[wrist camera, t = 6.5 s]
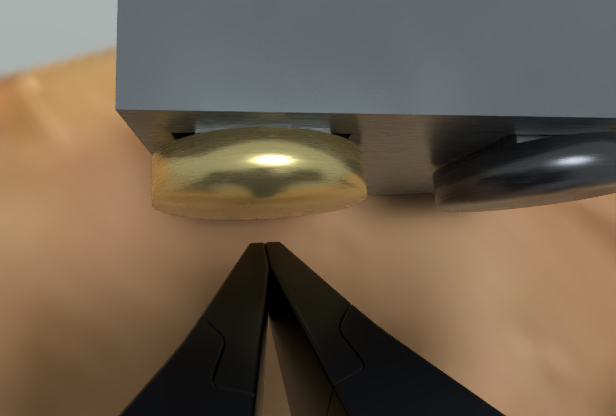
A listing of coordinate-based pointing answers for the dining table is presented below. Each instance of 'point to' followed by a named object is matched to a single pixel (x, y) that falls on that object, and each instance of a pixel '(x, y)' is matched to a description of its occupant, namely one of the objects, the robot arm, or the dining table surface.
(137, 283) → the dining table surface
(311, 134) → the brass plunger
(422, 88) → the block
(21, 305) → the dining table surface
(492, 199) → the black plunger
